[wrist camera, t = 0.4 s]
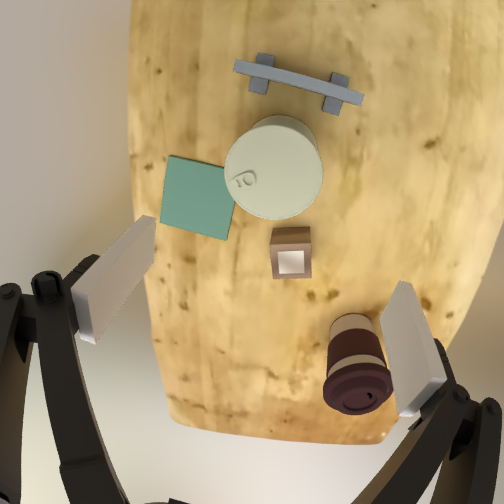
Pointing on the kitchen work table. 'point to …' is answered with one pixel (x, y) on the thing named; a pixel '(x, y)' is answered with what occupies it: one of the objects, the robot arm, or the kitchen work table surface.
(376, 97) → the kitchen work table surface
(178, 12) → the kitchen work table surface
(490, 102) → the kitchen work table surface
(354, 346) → the coffee cup
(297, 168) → the can
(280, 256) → the letter cube
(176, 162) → the mat
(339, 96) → the screen
